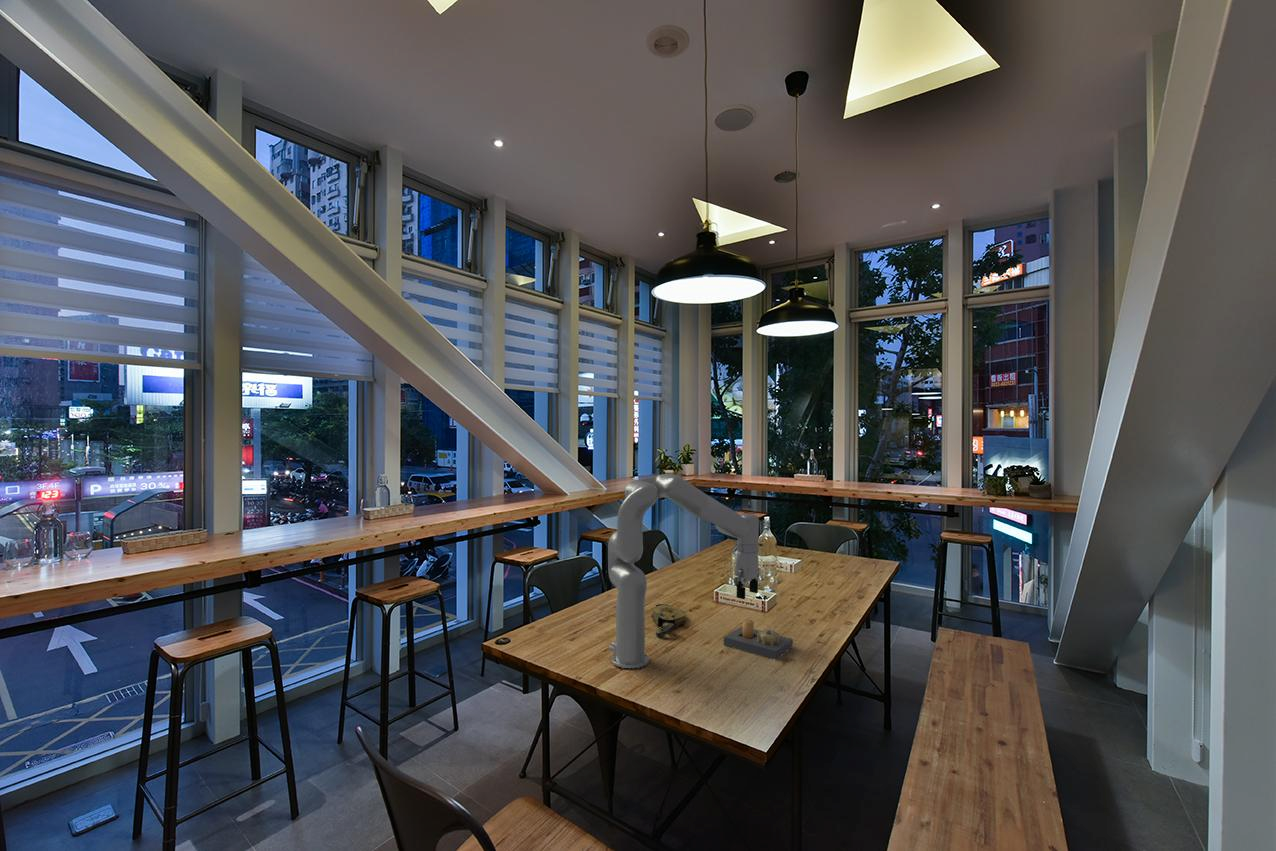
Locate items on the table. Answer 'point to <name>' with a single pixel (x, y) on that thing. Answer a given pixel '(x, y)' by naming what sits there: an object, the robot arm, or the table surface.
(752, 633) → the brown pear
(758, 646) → the housing
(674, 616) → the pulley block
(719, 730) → the table surface
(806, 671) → the table surface
